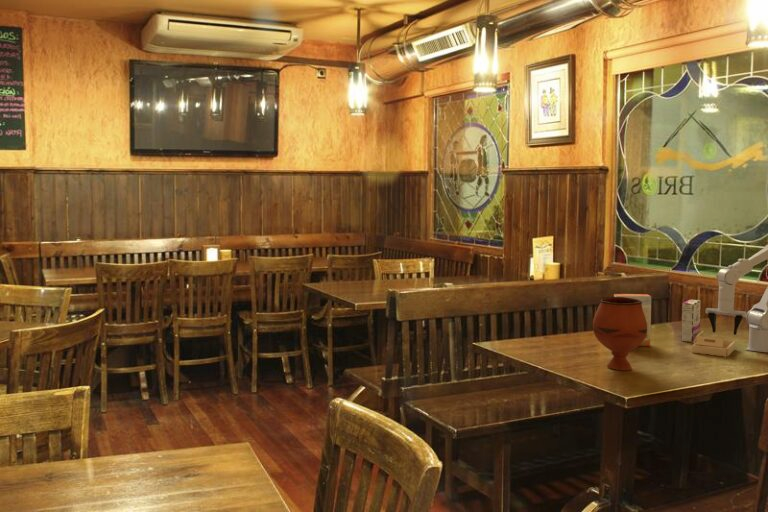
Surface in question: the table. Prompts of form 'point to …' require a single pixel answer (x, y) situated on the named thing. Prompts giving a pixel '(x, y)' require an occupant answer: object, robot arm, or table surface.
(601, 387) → the table surface
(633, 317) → the goblet
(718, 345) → the flap
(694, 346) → the carton
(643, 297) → the cracker box
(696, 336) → the flap
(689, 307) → the candy bar box
